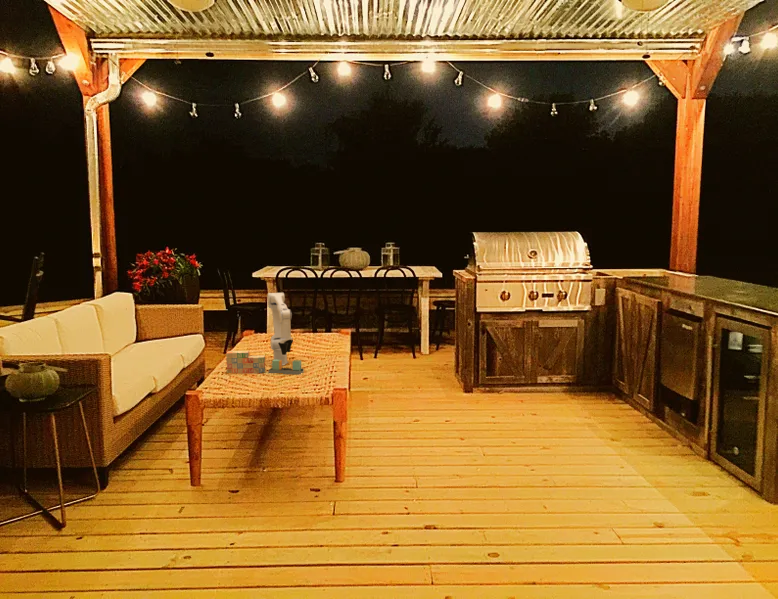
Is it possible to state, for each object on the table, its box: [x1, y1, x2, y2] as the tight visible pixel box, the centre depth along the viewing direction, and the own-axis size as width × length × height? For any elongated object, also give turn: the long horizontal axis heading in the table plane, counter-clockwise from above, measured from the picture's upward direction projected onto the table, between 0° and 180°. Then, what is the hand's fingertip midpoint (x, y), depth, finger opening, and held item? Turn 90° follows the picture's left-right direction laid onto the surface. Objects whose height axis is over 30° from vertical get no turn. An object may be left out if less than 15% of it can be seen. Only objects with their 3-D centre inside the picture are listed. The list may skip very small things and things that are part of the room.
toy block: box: [271, 358, 283, 370], centre depth 372 cm, size 4×5×6 cm
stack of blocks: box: [225, 350, 266, 374], centre depth 373 cm, size 21×6×12 cm, turn 94°
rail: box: [267, 359, 305, 375], centre depth 371 cm, size 6×19×7 cm, turn 82°
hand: (286, 353), depth 378 cm, fingers open, 7 cm apart
